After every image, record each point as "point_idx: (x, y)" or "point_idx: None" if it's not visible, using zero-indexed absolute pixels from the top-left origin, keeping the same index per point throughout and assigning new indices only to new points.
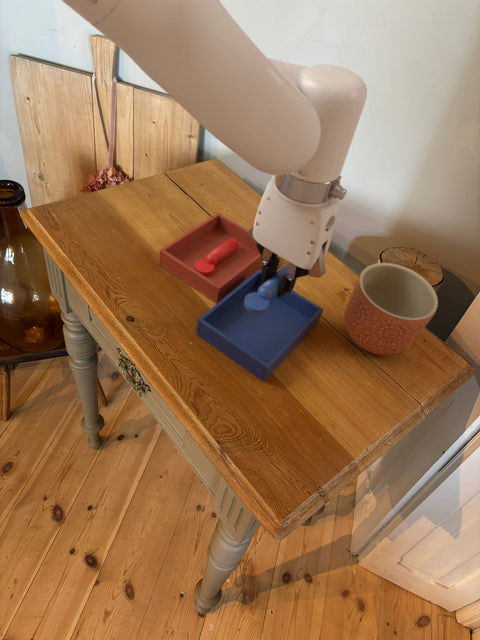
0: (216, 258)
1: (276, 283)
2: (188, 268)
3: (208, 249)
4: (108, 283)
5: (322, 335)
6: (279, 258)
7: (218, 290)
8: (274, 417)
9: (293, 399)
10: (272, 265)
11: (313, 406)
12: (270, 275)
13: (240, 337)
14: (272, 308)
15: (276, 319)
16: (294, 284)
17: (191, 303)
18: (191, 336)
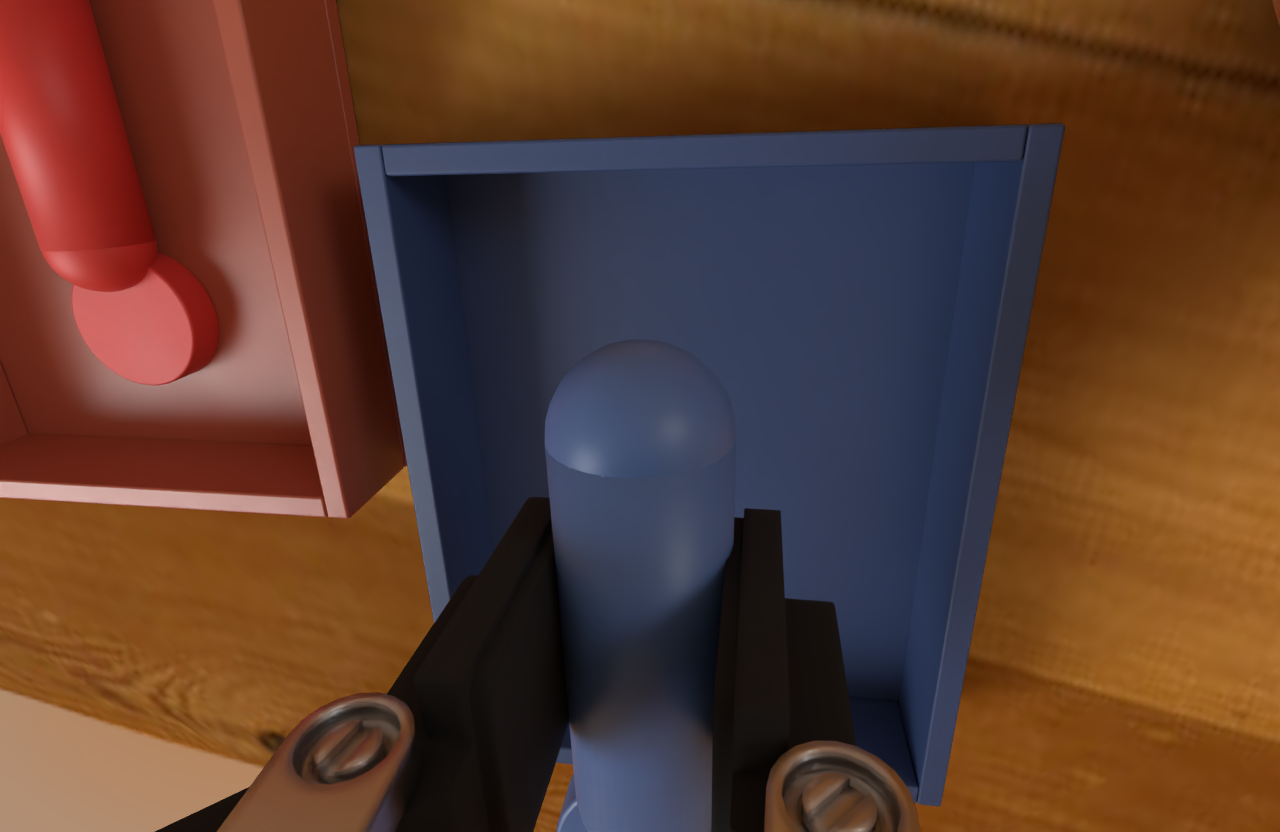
0: (106, 249)
1: (677, 764)
2: (117, 504)
3: None
4: (64, 661)
5: (1083, 208)
6: (463, 688)
7: (355, 512)
8: (1051, 812)
9: (1096, 705)
10: (496, 819)
11: (1216, 687)
12: (553, 689)
13: None
14: (664, 278)
15: (741, 341)
16: (839, 649)
17: (338, 538)
18: None
